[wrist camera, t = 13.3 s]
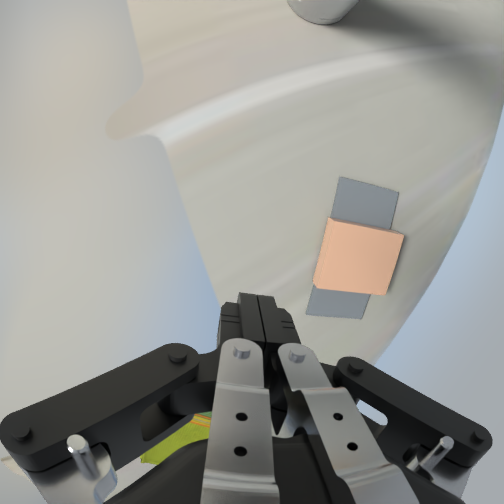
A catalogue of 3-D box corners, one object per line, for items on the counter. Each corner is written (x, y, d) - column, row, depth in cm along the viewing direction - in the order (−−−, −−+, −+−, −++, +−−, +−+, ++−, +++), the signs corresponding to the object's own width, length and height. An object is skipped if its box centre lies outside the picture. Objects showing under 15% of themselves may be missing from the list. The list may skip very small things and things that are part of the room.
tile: (334, 221, 39) (404, 235, 40) (328, 216, 41) (395, 230, 43) (316, 288, 42) (385, 295, 43) (312, 280, 44) (378, 288, 46)
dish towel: (236, 385, 52) (237, 397, 49) (196, 467, 62) (196, 476, 59) (156, 364, 49) (153, 376, 46) (139, 454, 59) (137, 463, 56)
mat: (339, 176, 40) (340, 176, 40) (397, 191, 41) (398, 192, 41) (305, 313, 47) (306, 314, 46) (360, 317, 48) (361, 318, 48)
